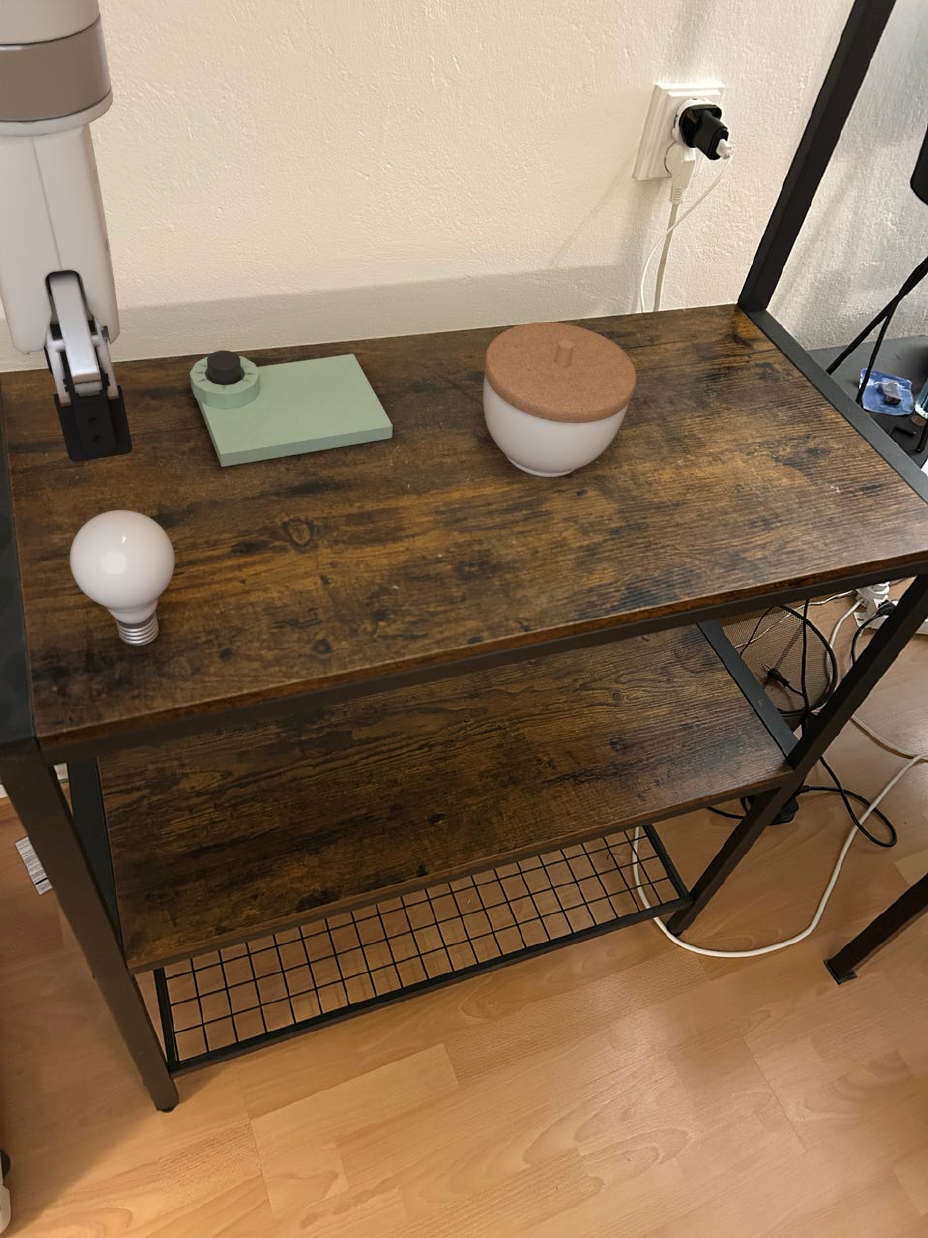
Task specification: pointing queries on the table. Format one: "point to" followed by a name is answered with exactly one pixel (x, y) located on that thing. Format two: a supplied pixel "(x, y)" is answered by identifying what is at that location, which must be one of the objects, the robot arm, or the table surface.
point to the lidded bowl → (555, 395)
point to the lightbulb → (124, 569)
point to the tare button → (224, 367)
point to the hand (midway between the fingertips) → (89, 408)
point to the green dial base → (289, 409)
